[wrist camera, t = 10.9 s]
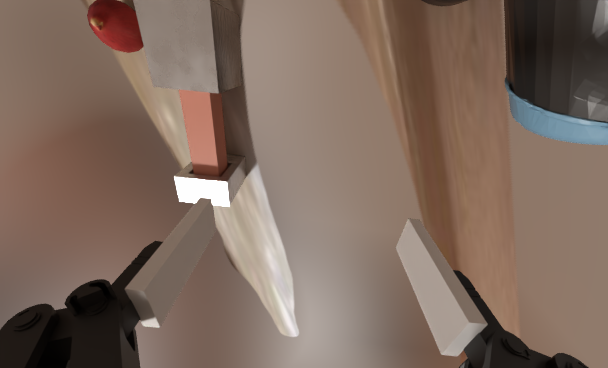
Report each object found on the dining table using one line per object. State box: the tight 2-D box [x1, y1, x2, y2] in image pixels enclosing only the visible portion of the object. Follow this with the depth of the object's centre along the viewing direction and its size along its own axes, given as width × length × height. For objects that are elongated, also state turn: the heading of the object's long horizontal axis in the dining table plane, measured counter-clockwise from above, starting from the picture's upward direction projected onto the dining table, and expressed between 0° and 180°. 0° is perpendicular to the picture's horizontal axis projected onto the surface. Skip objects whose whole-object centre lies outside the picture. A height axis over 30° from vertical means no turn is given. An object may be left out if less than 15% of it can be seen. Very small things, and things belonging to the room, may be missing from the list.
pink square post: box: [179, 89, 228, 177], centre depth 34 cm, size 18×4×4 cm, turn 175°
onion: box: [87, 0, 144, 53], centre depth 29 cm, size 6×6×8 cm
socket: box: [174, 155, 246, 206], centre depth 38 cm, size 4×8×10 cm, turn 85°
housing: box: [133, 0, 242, 94], centre depth 29 cm, size 9×8×10 cm
